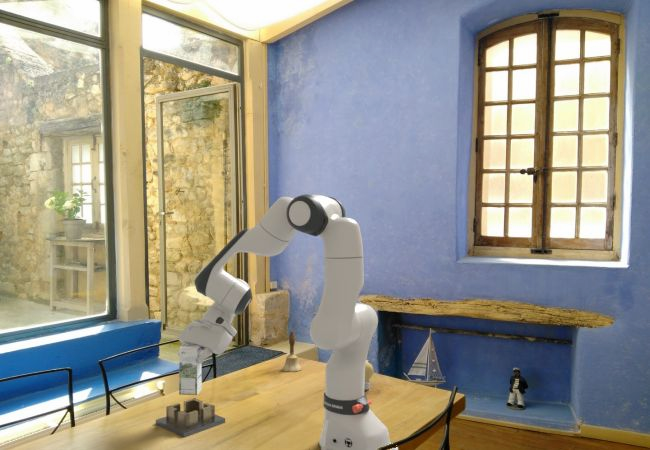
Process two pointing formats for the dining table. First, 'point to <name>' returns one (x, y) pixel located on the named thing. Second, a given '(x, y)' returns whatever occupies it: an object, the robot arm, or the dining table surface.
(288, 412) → the dining table surface
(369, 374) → the light bulb
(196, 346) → the syrup box
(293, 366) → the hand bell
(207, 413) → the metal jaw fixture
